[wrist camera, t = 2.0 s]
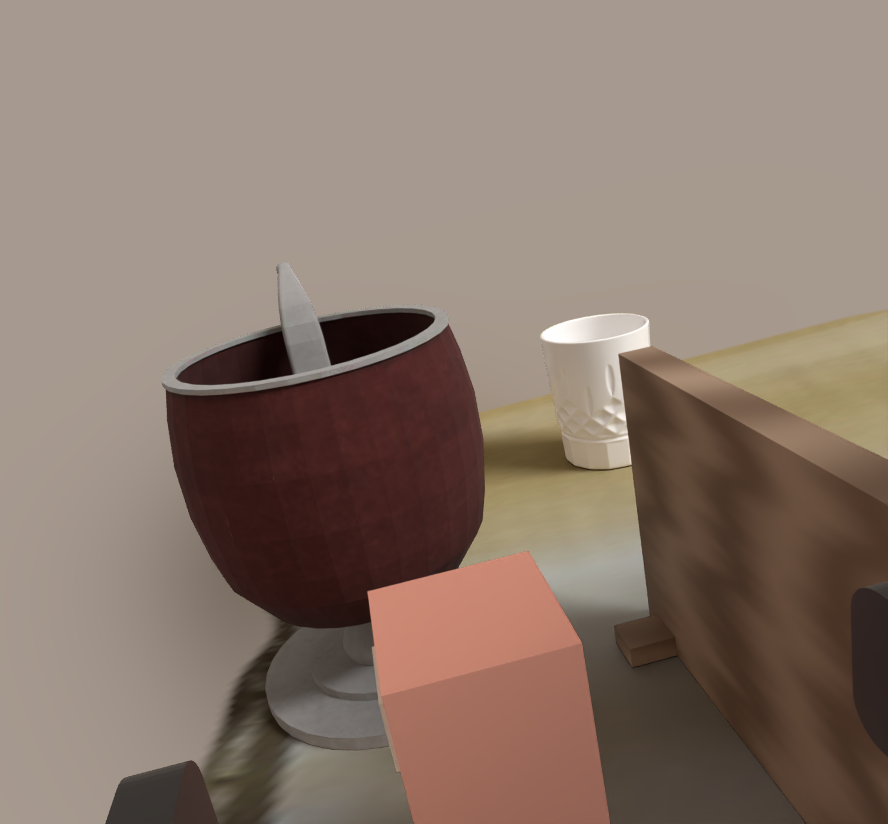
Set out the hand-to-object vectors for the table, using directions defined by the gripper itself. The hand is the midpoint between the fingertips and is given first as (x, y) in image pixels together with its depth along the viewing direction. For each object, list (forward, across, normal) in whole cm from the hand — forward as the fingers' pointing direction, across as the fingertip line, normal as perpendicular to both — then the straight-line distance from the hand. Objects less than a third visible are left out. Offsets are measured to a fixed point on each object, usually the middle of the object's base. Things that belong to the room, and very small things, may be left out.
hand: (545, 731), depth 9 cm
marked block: (+11, 0, +17) cm, 20 cm away
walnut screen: (+16, -11, +17) cm, 26 cm away
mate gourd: (+28, +3, +17) cm, 33 cm away
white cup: (+46, -16, +17) cm, 52 cm away
